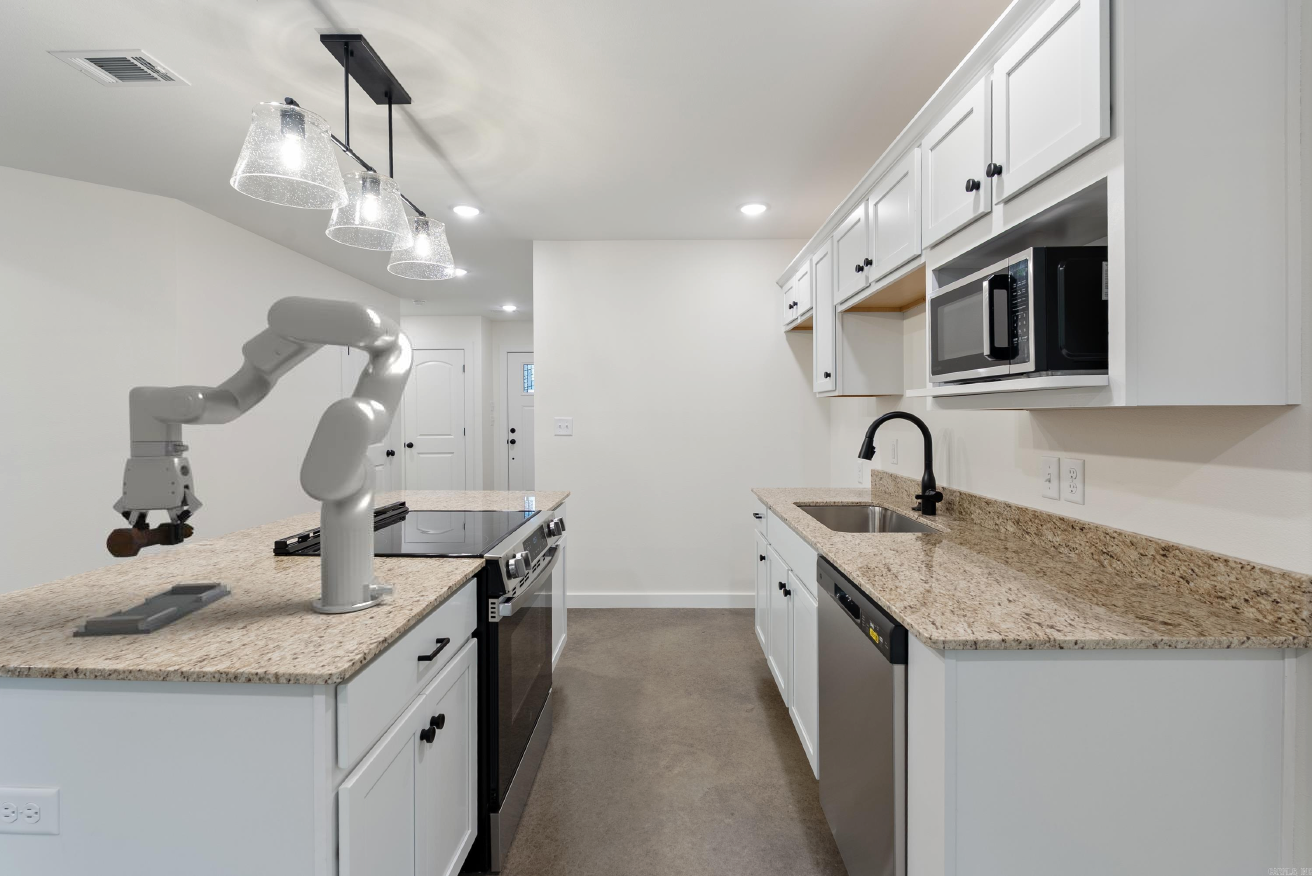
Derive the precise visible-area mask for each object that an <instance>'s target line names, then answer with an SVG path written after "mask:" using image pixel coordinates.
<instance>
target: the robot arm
mask: <svg viewBox="0 0 1312 876" xmlns="http://www.w3.org/2000/svg"><path fill="white" fill-rule="evenodd" d="M266 321H267V325H268V326H267V328H265V329H263V330H262V331H260V332H259V333H257V335H255V336H253V337H252V338H250V339H248V340H247V341H246V342H245V343H243V345H242V347H241V353H242V356H243V357H244V361H243V363H242V366H241V368H239V370H238V371H236V373H235V374H233V375H232V376H231V377H229V378H227V379H226V380H225V381H223V382H222V383H220V384H219V385H217V386H205V385H190V384H189V385H179V386H171V387H170V386H169V387H168V386H151V385H148V386H147V385H146V386H145V385H144V386H143V385H142V386H136V387H132V389H130V390H129V394H128V407H129V408H128V411H129V413H128V414H129V445H130V446H129V447H130V449H129V451H130V458H127V460H126V463H125V466H124V471H123V480H122V495H121V496H120V497H119V498H118V500H117V501H116V502H115V503H114V504H113V505H112V509H113V510H114V511H116V512H117V513H118V514H119V515H121V516H122V517H123V518H124V519H125V520H126V521H127V523H128V525H129V526H132V527H131V528H137V530H138V531H143V530H148V529H151V527H150V525H151V524H150V522H146V521H147V518H148V516H149V512H150V511H163V510H164V511H166V512H167V515H168V517H169V520H170V522H172V524H171V525H169V526H168V539H169V545H168V546H176V545H180V544H183V543H184V542H185V539H186V538H185V523H187V522H188V520H189V519H190V518H191V516H193V515H194V514H195V513H196V512H197V511H199V509H201V508H202V507H203V502H202V501H200V500H199V499H198V497H197V496H195V487H194V485H195V484H194V478H193V477H194V476H193V473H192V468H191V465H190V461H189V458H188V457H187V456H185V457H184V456H183V455H184V452H186V453H187V452H188V451H189V449H190V447H189V445H188V444H184V442H183V427H182V426H183V425H191V426H192V425H193V426H198V425H200V426H201V425H202V426H205V425H224V424H227V423H231V422H233V421H234V420H237V419H238V418H240V417H242V416H243V415H244V414H247V412H248V411H250V410H252V409H253V408H254V407H256V406H258V405H259V404H260V403H261V402H262V401H263V400H264V399H266V397H267V396H268V395H269V394H270V393H271V391H272V390H273V389H274V388H275V386H276V384H277V383H278V381H279V380H280V379H281V378H282V377H283V376H284V375H286V374H287V373H288V372H290V371H292V370H293V369H294V368H295V367H297V366H298V365H299V364H301V363H302V362H304V361H305V360H306V359H307V358H309V357H311V356H313V355H314V354H316V353H317V352H318V351H319V350H321V349H322V348H323V347H325V346H327V345H329V346H339V347H340V346H341V347H348V348H354V349H356V350H359V351H363V352H366V353H367V354H368V361H367V364H366V365H365V366H364V367H363V369H362V371H361V372H360V375H359V376H358V380H357V383H356V386H355V387H354V390H353V391H352V395H351V396H350V397H344V398H341V399H338V400H336V401H335V402H333V403H332V404H331V405H329V406H328V407H327V409H326V410H325V411H324V412H323V413H322V415H321V417H320V419H319V422H318V424H317V426H316V429H315V432H314V433H313V436H312V439H311V441H310V444H309V447H308V448H307V451H306V453H305V457H304V459H303V461H302V464H301V467H300V471H299V482H300V485H301V488H302V490H303V491H304V492H305V494H306V495H307V496H308V497H309V498H311V499H313V500H314V501H315V500H316V501H317V502H318V501H319V502H321V508H320V519H319V520H320V521H319V522H320V523H319V525H320V530H319V532H320V533H319V534H320V538H319V540H320V581H321V582H320V584H321V587H320V588H321V596H320V597H317V598H316V599H314V600H313V602H312V610H313V611H315V612H317V613H323V614H343V613H350V612H355V611H360V610H365V609H369V608H371V607H374V606H376V605H378V604H380V603H381V601H383V599H384V596H388V595H389V596H391V595H392V596H393V595H395V593H396V585H395V584H394V583H393V582H391V583H390V582H388V583H381V582H380V577H379V576H375V550H374V549H375V548H374V546H375V545H374V544H375V541H374V539H375V538H374V537H375V536H374V535H375V533H374V526H375V523H374V522H375V521H374V519H375V518H374V517H375V515H374V513H375V512H374V510H375V507H374V506H375V504H374V503H375V494H376V488H377V487H376V485H377V471H376V467H375V463H374V461H373V460H372V458H371V457H370V456H369V455H368V454H366V453H367V451H368V449H369V446H372V445H376V444H379V443H381V442H382V441H383V440H384V439H385V438H386V437H387V435H388V433H389V431H390V428H391V425H392V422H393V419H394V417H395V415H396V412H397V409H398V408H399V407H398V406H399V404H400V402H401V399H402V396H403V393H404V390H405V388H406V385H407V382H408V381H409V377H410V375H411V372H412V369H413V366H414V365H413V364H414V349H413V346H412V343H411V340H410V338H409V337H408V334H406V332H405V331H404V330H403V329H402V327H401V326H400V325H399V324H398V323H397V322H395V321H394V320H393V319H392V318H390V317H389V316H388V315H386V314H384V313H382V312H381V311H379V310H377V309H376V308H373V307H372V306H369V305H367V304H366V303H365V304H364V303H361V302H356V301H355V302H354V301H350V300H349V301H346V300H340V299H339V300H336V299H327V298H318V297H317V298H316V297H307V296H297V295H296V296H295V295H293V296H284V297H282V298H280V299H278V300H276V301H275V302H274V303H273V304H272V305H271V306H270V308H268V311H267V316H266ZM185 507H186V508H185ZM184 538H185V539H184Z"/></svg>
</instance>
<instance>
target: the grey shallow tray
mask: <svg viewBox="0 0 1312 876" xmlns="http://www.w3.org/2000/svg"><path fill="white" fill-rule="evenodd" d="M221 583H222V582H204V583H203V582H201V583H200V582H199V583H178V584H175V585H172V586H171V587H170V588H167V589H164V590H162V591H159V592H158V593H155V594H152V595H150V596H147V597H145V598H144V603H145V604H152V603H154V602H157V601H159V600H161V599H164V598H166V597H168V596H171V595H187V594H201V595H199V596H197V602H203V601H205V600H208V599H210V598H212V597H214V596H216V595H218V594H220V593H222V592H224V591H227V590H228V584H221ZM122 612H123V609H115V610H113V611H110V612H107V613H105V614H103V615H99V616H97V617H96V616H95V617H92V618H90V619H87V620H85V622H83V623H80V624H77V630H78V632H85V631H103V630H126V629H146V628H149V627H151V626H153V625H155V624H157V623H159V622H161V621H163V620H165V619H167V618H170V617H172V616H174V615H176V614H177V608H170V609H168V610H165V611H163V612H161V613H159V614H157V615H154V616H152V617H150V618H148V617H147V615H141V616H122Z"/></svg>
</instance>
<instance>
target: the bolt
mask: <svg viewBox="0 0 1312 876" xmlns="http://www.w3.org/2000/svg"><path fill="white" fill-rule="evenodd" d="M171 524H172V522H171V521H169V522H162V523H160V524H158V525H157V527H155V528H150V529H148V530H143V531H138V530H137V528H132V527H125V528H123V527H122V528H121V527H120V528H119V527H118V528H115V529H113V530H112V532H110V534H109V535H108V537H107V539H106V548H107V551H108V552H109V554H110V555H112V556H113V557H114V558H132V557H137V556H138V554H139V552H140V551H141V549H143V548H148V547H152V546H158V545H160V546H170V545H169V539H168V526H169V525H171ZM194 531H195V527H194V526H192V525H191V524H189V523H187V522H185V538H184V540H186V539H189V538H190V537H192V536H193V535H194Z"/></svg>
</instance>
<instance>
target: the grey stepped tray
mask: <svg viewBox="0 0 1312 876" xmlns="http://www.w3.org/2000/svg"><path fill="white" fill-rule="evenodd" d="M231 594H232V590H228V589H227V591H224V592H222V593H220V594H218V595H216V596H214V597H212V598H210V599H208V600H205V601H203V602H197V596H199V595H201V594H187V595H171V596H168V597H166V598H164V599H161V600H159V601H157V602H154V603H152V604H145V602H143V603H139V605H136V606H133V607H131V608H128V609H126V610H124V611H123V610H122V616H141V615H147V617H148V618H150V617H152V616H154V615H157V614H159V613H161V612H163V611H165V610H168V609H170V608H177V614H176V615H174V616H172V617H170V618H167V619H165V620H163V621H161V622H159V623H157V624H155V625H153V626H151V627H149V628H146V629H126V630H103V631H85V632H78V629H77V630H75V631H73V632H72V637H73V638H80V637H99V636H102V637H103V636H122V635H125V636H126V635H143V634H144V635H146V634H152V633H155V632H156V631H158V630H160V629H162V628H164V627H166V626H169V625H171V624H173V623H174V622H177V621H178V620H181V619H183V618H185V617H187V616H189V615H191V614H193V613H195V612H197V611H198V610H201V609H203V608H205V607H208V606H209V605H212V604H213V603H216V602H217V601H219V600H221V599H223V598H225V597H229V596H230V595H231Z"/></svg>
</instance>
